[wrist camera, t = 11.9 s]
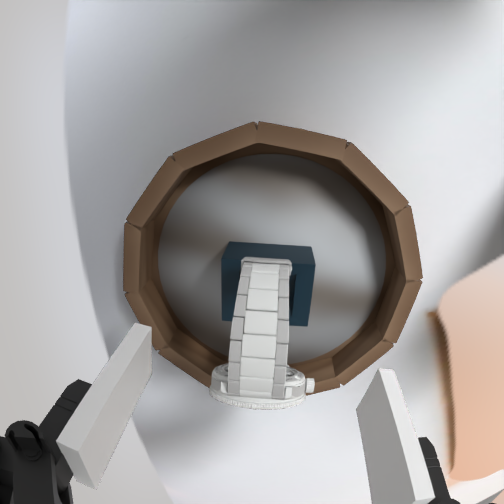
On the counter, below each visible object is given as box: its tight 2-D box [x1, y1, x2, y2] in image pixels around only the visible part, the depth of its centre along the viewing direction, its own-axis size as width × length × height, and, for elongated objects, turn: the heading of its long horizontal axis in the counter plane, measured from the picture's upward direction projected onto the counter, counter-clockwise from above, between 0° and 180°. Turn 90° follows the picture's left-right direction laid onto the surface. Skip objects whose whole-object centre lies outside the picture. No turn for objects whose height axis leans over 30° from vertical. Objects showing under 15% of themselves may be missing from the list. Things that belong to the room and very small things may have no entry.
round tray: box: [123, 121, 423, 395], centre depth 22 cm, size 20×20×4 cm
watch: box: [209, 241, 316, 410], centre depth 17 cm, size 6×8×11 cm
